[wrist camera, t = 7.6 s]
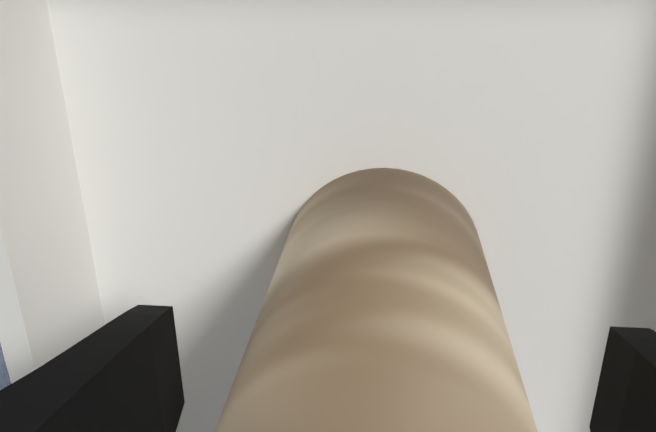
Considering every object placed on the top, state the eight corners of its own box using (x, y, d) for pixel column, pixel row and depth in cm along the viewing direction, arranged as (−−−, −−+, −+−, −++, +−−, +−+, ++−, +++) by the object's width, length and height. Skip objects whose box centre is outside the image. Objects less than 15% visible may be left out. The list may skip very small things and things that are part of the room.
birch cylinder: (490, 170, 13) (585, 381, 7) (472, 345, 15) (533, 648, 8) (283, 164, 13) (182, 359, 7) (289, 336, 15) (213, 617, 9)
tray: (840, -192, 10) (1041, -254, 7) (642, 526, 17) (700, 658, 14) (0, -170, 12) (-147, -213, 9) (124, 489, 18) (68, 602, 15)
